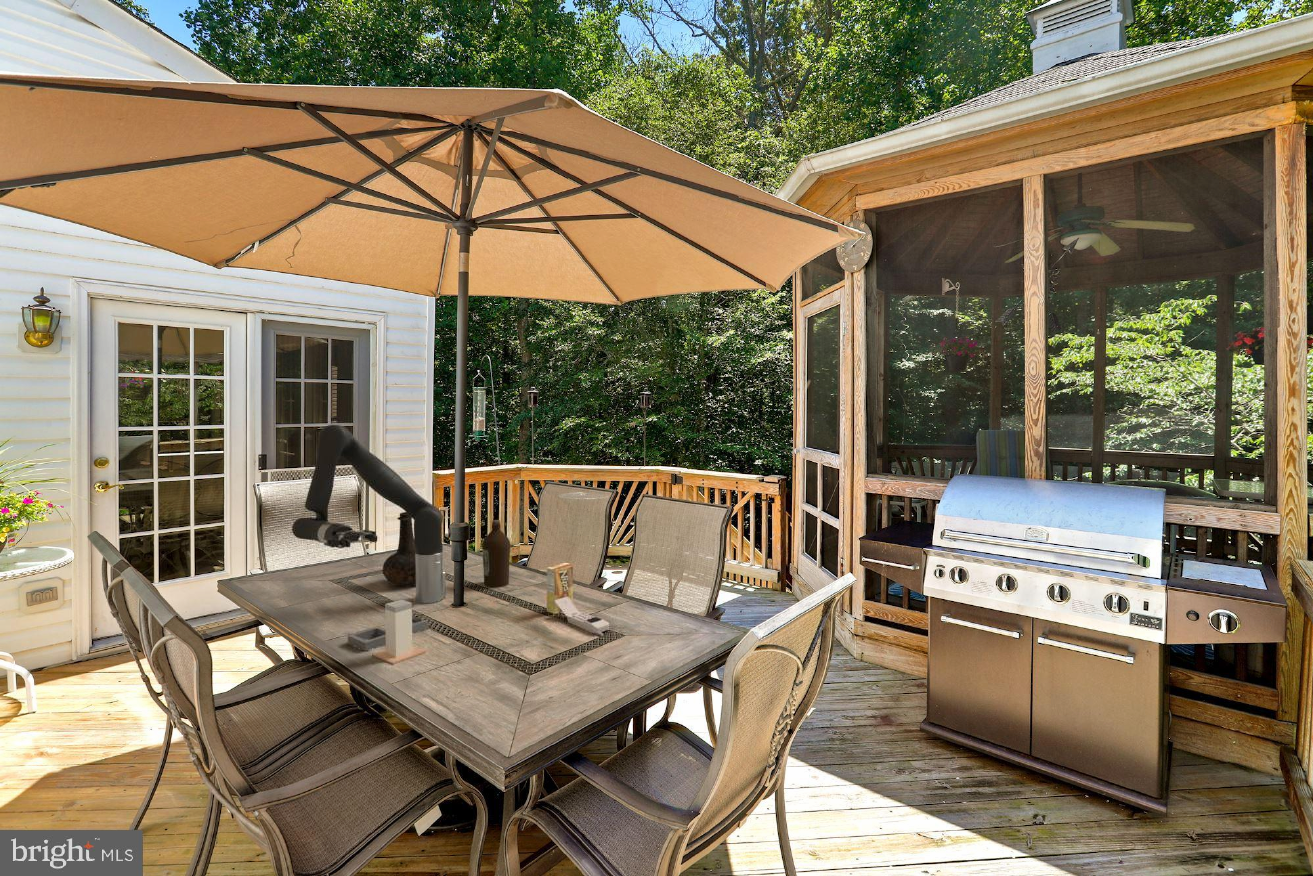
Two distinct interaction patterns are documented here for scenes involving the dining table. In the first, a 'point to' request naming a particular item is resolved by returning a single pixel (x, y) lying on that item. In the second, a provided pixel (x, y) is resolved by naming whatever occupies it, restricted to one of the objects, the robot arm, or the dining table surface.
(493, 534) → the olive oil
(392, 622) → the block
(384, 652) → the coaster
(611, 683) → the dining table surface
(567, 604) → the mobile phone
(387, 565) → the dark brown vase
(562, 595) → the candy box
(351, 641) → the charging dock
